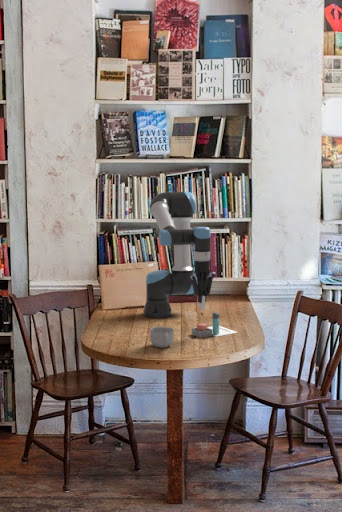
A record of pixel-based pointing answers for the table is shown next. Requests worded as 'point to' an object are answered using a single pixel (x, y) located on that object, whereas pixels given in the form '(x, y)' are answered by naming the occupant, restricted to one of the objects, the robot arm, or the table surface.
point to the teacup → (161, 336)
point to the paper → (223, 331)
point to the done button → (201, 327)
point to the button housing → (201, 333)
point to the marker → (215, 323)
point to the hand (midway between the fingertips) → (202, 309)
